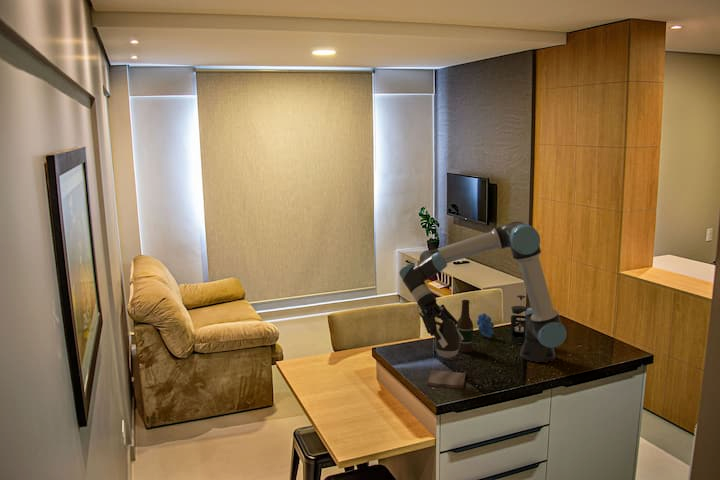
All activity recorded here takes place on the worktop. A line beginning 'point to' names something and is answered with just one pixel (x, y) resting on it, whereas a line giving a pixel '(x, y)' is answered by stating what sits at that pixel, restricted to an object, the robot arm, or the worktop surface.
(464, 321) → the beer bottle
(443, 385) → the walnut board
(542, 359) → the robot arm
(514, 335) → the french press
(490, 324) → the grapes
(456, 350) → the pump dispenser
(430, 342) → the worktop surface
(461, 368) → the worktop surface
